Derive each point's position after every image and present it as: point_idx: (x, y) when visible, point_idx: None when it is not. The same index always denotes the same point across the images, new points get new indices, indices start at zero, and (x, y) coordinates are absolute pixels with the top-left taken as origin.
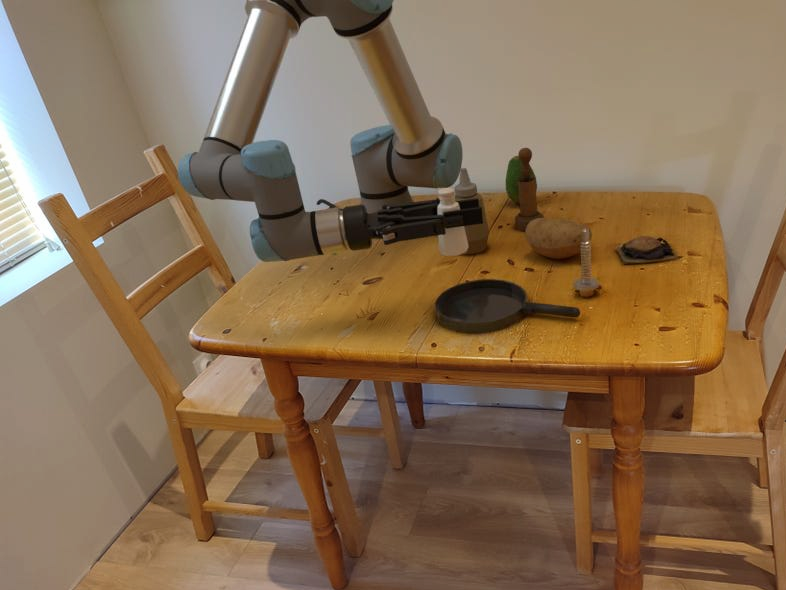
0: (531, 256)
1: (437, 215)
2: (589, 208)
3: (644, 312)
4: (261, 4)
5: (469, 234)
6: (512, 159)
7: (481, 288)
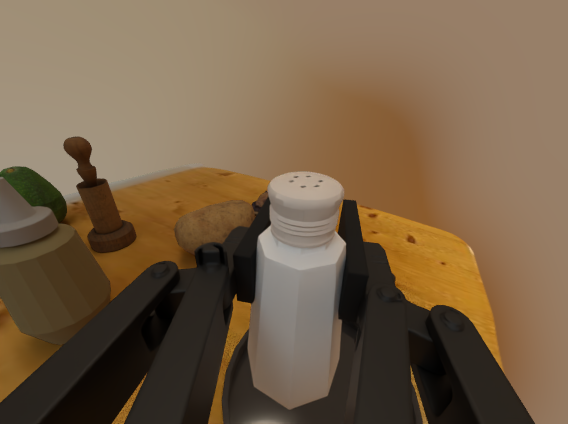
0: (193, 266)
1: (377, 301)
2: (147, 199)
3: (377, 239)
4: None
5: (86, 301)
6: (5, 173)
7: (242, 361)
